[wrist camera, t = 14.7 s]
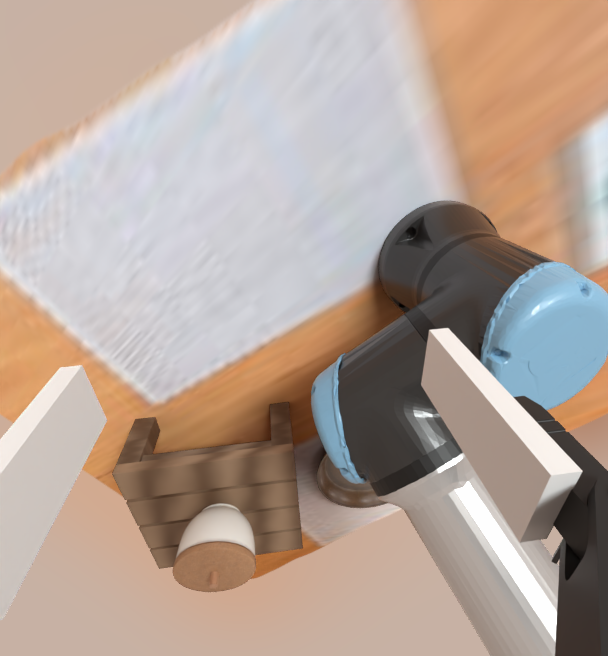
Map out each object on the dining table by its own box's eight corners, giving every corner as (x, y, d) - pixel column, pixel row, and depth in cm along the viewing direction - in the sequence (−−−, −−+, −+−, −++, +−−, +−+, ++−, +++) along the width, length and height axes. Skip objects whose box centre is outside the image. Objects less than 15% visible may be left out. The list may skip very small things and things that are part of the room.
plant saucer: (368, 398, 58) (373, 412, 55) (444, 445, 66) (453, 459, 63) (291, 469, 65) (293, 485, 62) (369, 504, 73) (374, 519, 70)
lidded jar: (262, 495, 51) (263, 564, 43) (249, 537, 56) (247, 606, 48) (187, 490, 49) (173, 562, 41) (180, 534, 54) (166, 606, 46)
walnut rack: (288, 402, 56) (293, 451, 47) (297, 495, 68) (302, 548, 60) (135, 419, 54) (112, 474, 46) (172, 511, 66) (159, 568, 58)
